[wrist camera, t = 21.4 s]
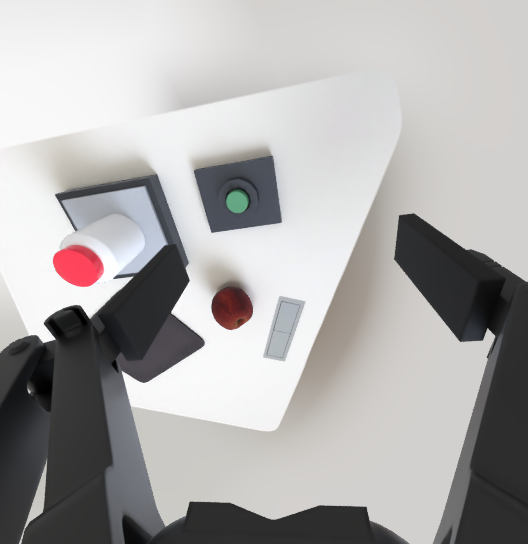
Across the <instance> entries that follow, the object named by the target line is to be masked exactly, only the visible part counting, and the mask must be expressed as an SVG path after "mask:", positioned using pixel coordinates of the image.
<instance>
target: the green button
mask: <svg viewBox="0 0 528 544" xmlns="http://www.w3.org/2000/svg"><path fill="white" fill-rule="evenodd" d="M248 203H249V198H248V196H247V194H246V193H245V192H244V191H242V190H240V189H236V190H233V191H231V192H230V194H229V195H228V197H227V199H226V204H227V207H228V208H229V210H231V211H232V212H234V213H241V212H243V211H245V209H246V208H247V206H248Z"/></svg>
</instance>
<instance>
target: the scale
mask: <svg viewBox="0 0 528 544" xmlns="http://www.w3.org/2000/svg"><path fill="white" fill-rule="evenodd" d="M55 196H56V198H57V199H58V201H59V203H60V205H61V206H62V208H63V210H64V212H65V213H66V215H67V217H68V219H69V220H70V222H71V224H72V226H73V227H74V229H75V231H77V230H79V229H81V228H83V227H85V226H87V225H89V224H90V223H92V222H94V221H96V220H98V219H100V218H102V217H104V216H106V215H109V214H120V215H123V216H126V217H128V218H130V219H131V220H133V221H134V222H135V223H136V224H137V225H138V226H139V227H140V229H141V230H142V232H143V235H144V238H145V246H144V249H143V251H142V252H141V253H140V254H139V255H138V256H137V257H136V258H135V259H134V260H133V261H132V262H130V263H129V264H128V265H127V266H126V267H125V268H124V269H123V270H122V271H121V272H119V273H118V274H117V275H116V276H115V277H114V278H113V279H117V278H125V277H133V276H135V275H136V274H137V273H138V272H139V271H140V270H141V269H142V268H143V267H144V266H145V265H146V264H147V263H148V262H149V261H150V260H151V259H152V258H153V257H154V256H155V255H156V254H157V253H158V252H159V251H160V250H161V249H162V248H163V247H164V245H171V244H176V245H177V248H178V250H179V253H180V256H181V258H182V261H183V264H184V267H185V268H186V266H187V265H188V263H189V262H188V260H187V257H186V254H185V251H184V248H183V246H182V243H181V240H180V237H179V235H178V232H177V229H176V226H175V223H174V221H173V218H172V215H171V212H170V209H169V207H168V204H167V201H166V198H165V195H164V193H163V190H162V187H161V184H160V182H159V179H158V176H157V175H151V176H146V177H140V178H134V179H129V180H123V181H118V182H112V183H107V184H101V185H95V186H90V187H84V188H79V189H73V190H68V191H64V192H61V193H58V194H55Z"/></svg>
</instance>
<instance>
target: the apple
mask: <svg viewBox="0 0 528 544" xmlns="http://www.w3.org/2000/svg"><path fill="white" fill-rule="evenodd" d="M212 314H213V316H214V318H215V320H216V321H217V322H218V323H219V324H220V325H221V326H222V327H224V328H226V329H228V330H233V329H237V328H239V327H240V326H242V325H243V324H244V323H246V322H247V321H248V320H249V319H250V318H251V317H252V314H253V306H252V303H251V300H250V298H249V297H248V295H247V294H246V293H245V292H244V291H242V290H241V289H238V288H235V287H227V288H224V289H222V290H220V291H219V292H218V293H217V294H216V295H215V296H214V298H213V300H212Z"/></svg>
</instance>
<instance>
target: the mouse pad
mask: <svg viewBox="0 0 528 544" xmlns="http://www.w3.org/2000/svg"><path fill="white" fill-rule="evenodd" d="M204 344H205V343H204V341H203V339H202V338H200V337H199V336H198V335H197V334H195V333H194V332H193V331H192V330H190V329H189V328H188V327H187V326H185V325H184V324H183V323H182V322H180V321H179V320H178V319H176V318H175V317H174V316H173V315H171V314H169V316H168V318H167V319H166V321H165V323H164V324H163V326H162V328H161V329H160V331H159V333H158V335H157V336H156V338H155V340H154V341H153V343H152V345H151V346H150V348H149V350H148V351H147V353H146V355H145V356H144V358H143V360H137V361H126V359H125V358H124V356H123V354H122V353H121V352H120V354H119V355H118V357H117V358H116V359H117V361H118V362H119V364H120V367H121V370H122V371H123V372H125V373H127V374H128V375H130V376H131V377H133V378H134V379H136V380H138V381H140V382H143V383H145V382H148V381H150V380H151V379H153V378H154V377H156V376H158V375H159V374H161V373H162V372H164V371H166V370H167V369H169V368H170V367H172V366H174V365H175V364H177V363H178V362H180V361H181V360H183V359H185V358H186V357H188V356H189V355H191V354H192V353H194V352H196V351H197V350H199V349H200V348H202V347H203V346H204Z"/></svg>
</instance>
